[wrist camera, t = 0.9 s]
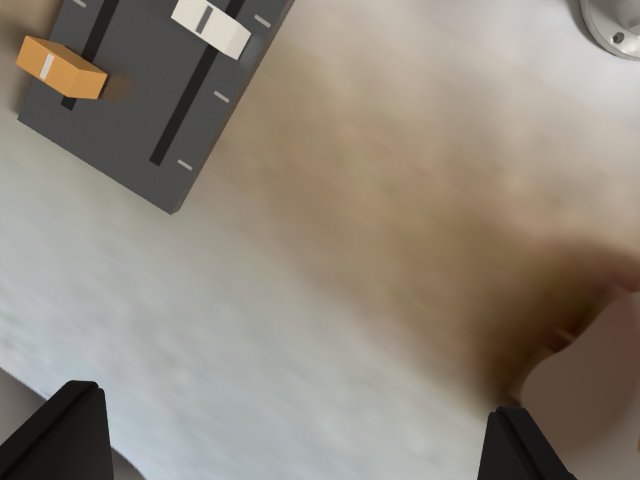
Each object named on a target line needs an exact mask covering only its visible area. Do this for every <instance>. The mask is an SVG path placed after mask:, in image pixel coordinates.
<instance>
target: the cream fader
mask: <svg viewBox="0 0 640 480" xmlns="http://www.w3.org/2000/svg"><path fill="white" fill-rule="evenodd" d="M171 18H172V19H174V20H175V21H177V22H178V23H180V24H181V25H183V26H184V27H186V28H187V29H188V30H190V31H191V32H193V33H194V34H196V35H197V36H199V37H200V38H202V39H203V40H205V41H206V42H208V43H209V44H211V45H212V46H214V47H215V48H217V49H218V50H220V51H221V52H222V53H224V54H226V55H228V56H230V57H232V58H234V59H236V60H237V59H238V57H239V55H240V54H241V52H242V50H243V48H244V46H245V44H246V42H247V41H248V39H249V37H250V35H251V33H250V32H249V31H248V30H247V29H245V28H244V27H243V26H242V25H241V24H240V23H238V22H237V21H235V20H234V19H232V18H231V17H230V16H228V15H227V14H225V13H224V12H222V11H221V10H219V9H218V8H216V7H215V6H214V5H212V4H211V3H209V2H208V1H206V0H179V1H178V3H177V5H176V8H175V10H174V12H173V14H172V16H171Z"/></svg>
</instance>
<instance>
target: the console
mask: <svg viewBox="0 0 640 480" xmlns="http://www.w3.org/2000/svg"><path fill="white" fill-rule="evenodd" d="M178 1H179V0H64V2H63V5H62V7H61V10H60V12H59V15H58V17H57V20H56V22H55V25H54V27H53V30H52V32H51V35H50V37H49V40H48V41H51V42H55V43H59V44H62V45H63V46H65V47H66V48H68V49H69V50H71V51H72V52H74V53H75V54H77V55H79V56H80V57H82V58H83V59H85V60H86V61H88V62H89V63H91V64H92V65H94V66H95V67H97V68H99V69H100V70H102V71H103V72H105V73H106V74H108V75H107V77H106V79H105V82H104V84H103V86H102V88H101V91H100V93H99V95H98V97H97V99H89V98H74V97H67V96H65V95H63V94H62V93H60V92H59V91H57V90H56V89H54V88H52V87H51V86H49V85H48V84H46V83H45V82H43V81H41V80H40V79H38V78H37V77H35V76H34V78H33V81H32V83H31V86H30V88H29V91H28V93H27V96H26V98H25V101H24V103H23V106H22V109H21V111H20V114H19V116H18V119H17V120H19V121H20V122H22V123H24V124H25V125H27V126H28V127H30V128H32V129H33V130H35V131H36V132H38V133H40V134H41V135H43V136H44V137H46V138H48V139H49V140H51V141H52V142H54V143H56V144H57V145H59V146H60V147H62V148H64V149H65V150H67V151H69V152H70V153H72V154H73V155H75V156H77V157H78V158H80V159H81V160H83V161H85V162H86V163H88V164H89V165H91V166H93V167H94V168H96V169H97V170H99V171H101V172H102V173H104V174H106V175H107V176H109V177H110V178H112V179H114V180H115V181H117V182H118V183H120V184H122V185H123V186H125V187H126V188H128V189H130V190H131V191H133V192H134V193H136V194H138V195H139V196H141V197H143V198H144V199H146V200H147V201H149V202H151V203H152V204H154V205H155V206H157V207H159V208H160V209H162V210H163V211H165V212H167V213H168V214H170V215H171V214H173V213H175V212H177V211H179V209H180V207H181V205H182V204H183V202H184V200H185V198H186V196H187V195H188V193H189V191H190V189H191V187H192V186H193V184H194V182H195V180H196V178H197V177H198V175H199V173H200V171H201V169H202V167H203V166H204V164H205V162H206V160H207V158H208V157H209V155H210V153H211V151H212V149H213V148H214V146H215V144H216V142H217V140H218V139H219V137H220V135H221V133H222V131H223V130H224V128H225V126H226V124H227V122H228V120H229V119H230V117H231V115H232V113H233V111H234V110H235V108H236V106H237V104H238V102H239V101H240V99H241V97H242V95H243V93H244V92H245V90H246V88H247V86H248V84H249V83H250V81H251V79H252V77H253V75H254V73H255V72H256V70H257V68H258V66H259V64H260V63H261V61H262V59H263V57H264V55H265V54H266V52H267V50H268V48H269V46H270V45H271V43H272V41H273V39H274V37H275V36H276V34H277V32H278V30H279V28H280V26H281V25H282V23H283V21H284V19H285V17H286V16H287V14H288V12H289V10H290V8H291V7H292V5H293V3H294V1H295V0H206V1H208V2H209V3H211V4H212V5H214V6H215V7H216V8H218V9H219V10H221V11H222V12H224V13H225V14H227V15H228V16H230V17H231V18H232V19H234V20H235V21H237V22H238V23H240V24H241V25H242V26H243V27H244V28H245V29H247V30H248V31H249V32H250V33H251V35H250V37H249V39H248V41H247V42H246V44H245V46H244V48H243V50H242V52H241V54H240V55H239V57H238V59H237V60H236V59H234V58H232V57H230V56H228V55H226V54H224V53H222V52H221V51H220V50H218V49H217V48H215V47H214V46H212V45H211V44H209V43H208V42H206V41H205V40H203V39H202V38H200V37H199V36H197V35H196V34H194V33H193V32H191V31H190V30H188V29H187V28H186V27H184V26H183V25H181V24H180V23H178V22H177V21H175V20H174V19H172V18H171V16H172V14H173V12H174V10H175V8H176V5H177V3H178Z"/></svg>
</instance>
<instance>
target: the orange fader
mask: <svg viewBox="0 0 640 480" xmlns="http://www.w3.org/2000/svg"><path fill="white" fill-rule="evenodd" d="M15 64H16V65H18V66H19V67H21V68H23V69H24V70H26V71H27V72H29V73H30V74H32V75H34V76H35V77H37V78H38V79H40V80H41V81H43V82H45V83H46V84H48V85H49V86H51V87H52V88H54V89H56V90H57V91H59V92H60V93H62V94H63V95H65V96H67V97H74V98H89V99H97V97H98V95H99V93H100V91H101V88H102V86H103V84H104V82H105V79H106V77H107V75H108V74H106V73H105V72H103V71H102V70H100V69H99V68H97V67H95V66H94V65H92V64H91V63H89V62H88V61H86V60H85V59H83V58H82V57H80V56H79V55H77V54H75V53H74V52H72V51H71V50H69V49H68V48H66V47H65V46H63V45H62V44H59V43H55V42H51V41H47V40H43V39H39V38H35V37H31V36H27V35H26V37H25V40H24V42H23V45H22V48H21V50H20V53H19V56H18V58H17V61H16V63H15Z"/></svg>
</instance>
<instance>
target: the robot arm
mask: <svg viewBox="0 0 640 480" xmlns="http://www.w3.org/2000/svg"><path fill="white" fill-rule="evenodd" d="M580 6H581V11H582V15H583V18H584V21H585V23H586V25H587V28H588V30H589V31H590V33H591V34H592V36H593V37H594V38H595V40H596V41H597V42H598V43H599V44H600V45H601V46H603V47H604V48H605V49H606V50H607V51H609V52H611V53H613V54H615V55H617V56H619V57H621V58H625V59H629V60H633V61H640V0H580ZM613 37H614V42H613ZM0 480H114V474H113V465H112V456H111V447H110V438H109V429H108V419H107V410H106V401H105V393H104V390H103V389H101V388H99V387H98V384H97V383H96V382H94V381H77V380H71V381H68V382H67V383H66V384H65V385H64V386H62V387H61V388H60V389H59V390H58V391H57V392H56V393H55V394H54V395H53V396H52V397H51V398H50V399H49V400H48V401H47V402H46V403H45V404H44V405H43V406H41V407H40V408H39V409H38V410H37V411H36V412H35V413H34V414H33V415H32V416H31V417H30V418H29V419H28V420H27V421H26V422H25V423H24V424H23V425H22V426H21V427H20V428H19V429H17V430H16V431H15V432H14V433H13V434H12V435H11V436H10V437H9V438H8V439H7V440H6V441H5V442H4V443H3V444H2V445H1V446H0ZM477 480H577V479H576V478H575V476H574V475H573V474H571V473H570V472H568V471H567V469H566V468H565V466H564V465H563V463H562V462H561V460H560V459H559V457H558V456H557V455H556V453H555V451H554V450H553V448H552V447H551V445H550V444H549V443H548V441H547V439H546V438H545V436H544V435H543V434H542V432H541V431H540V429H539V427H538V426H537V424H536V423H535V422H534V420H533V419H532V417H531V416H530V414H529V413H528V411H527V410H526V409H525V408H523V407H507V406H499V407H498V408H497V409H496V412H491V413H490V414H489V416H488V422H487V427H486V433H485V438H484V444H483V450H482V455H481V461H480V467H479V472H478V478H477Z"/></svg>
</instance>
